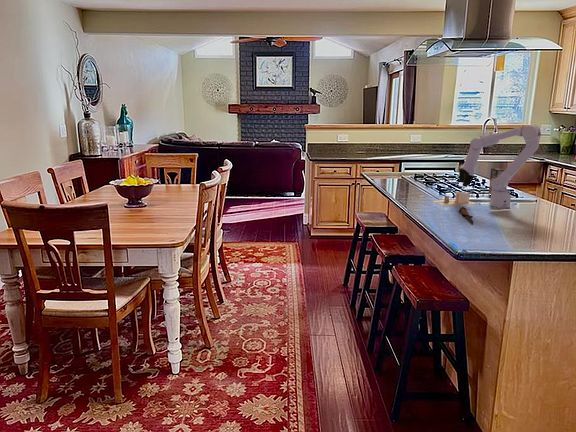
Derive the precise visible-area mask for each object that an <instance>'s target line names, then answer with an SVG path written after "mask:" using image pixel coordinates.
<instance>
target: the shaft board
mask: <svg viewBox="0 0 576 432" xmlns="http://www.w3.org/2000/svg"><path fill="white" fill-rule="evenodd" d="M429 201H431V202H433V203H436V204H438V205H441V206H443V207H452V206H455V207H456V206H473V205H477V206H478V203H476V202H473V201H470V200H469V202H465V203H459V202H456V201H455V198H450V196H449V195H444V199H443V198H442V199H441V198H440V199H429Z"/></svg>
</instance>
